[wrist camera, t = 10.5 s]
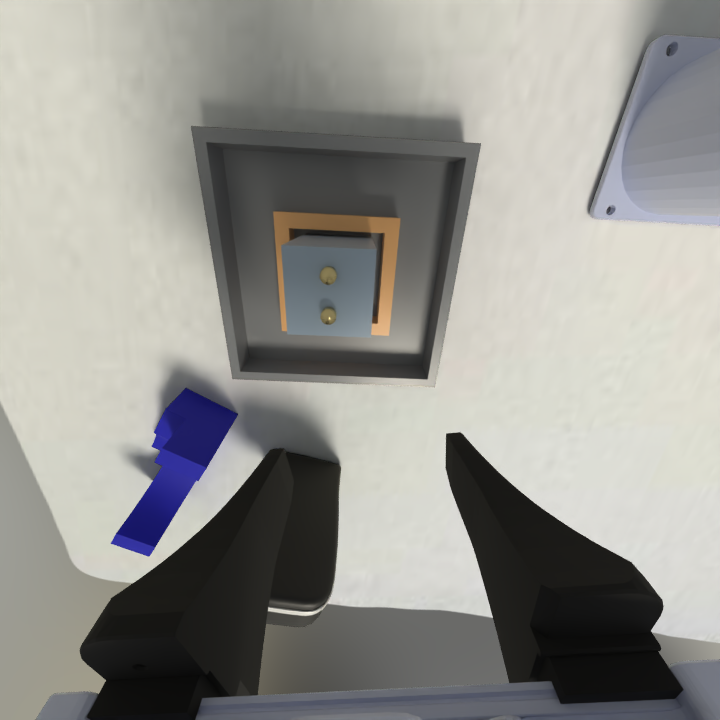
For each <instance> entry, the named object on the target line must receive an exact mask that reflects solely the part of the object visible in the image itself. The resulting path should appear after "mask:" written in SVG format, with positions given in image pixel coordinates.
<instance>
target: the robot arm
mask: <svg viewBox="0 0 720 720" xmlns="http://www.w3.org/2000/svg"><path fill="white" fill-rule="evenodd" d="M668 46H670V49H671V51H670V54H669V56H667V54H666V50H667V47H668ZM609 206H610V207H611V210H610V212H609V213H608V214H607V213H606V210H607V208H608V207H609ZM590 216H591V217H592V218H594V219H605V220H623V221H641V222H659V223H678V224H696V225H714V226H720V38H707V37H692V36H678V35H662V36H660V37H659V38H657V39H655V40H654V41H652V42H651V43H650V45H649V46H648V48H647V50H646V52H645V55H644V58H643V61H642V64H641V66H640V69H639V72H638V75H637V78H636V81H635V83H634V86H633V89H632V92H631V95H630V98H629V100H628V103H627V106H626V109H625V112H624V115H623V118H622V120H621V123H620V126H619V129H618V132H617V135H616V137H615V140H614V143H613V146H612V149H611V152H610V154H609V157H608V160H607V163H606V166H605V169H604V172H603V174H602V177H601V180H600V183H599V186H598V189H597V191H596V194H595V197H594V200H593V203H592V206H591V208H590ZM446 471H447V475H448V479H449V483H450V487H451V490H452V493H453V496H454V498H455V501H456V504H457V506H458V509H459V511H460V514H461V517H462V519H463V522H464V524H465V527H466V530H467V532H468V535H469V537H470V540H471V543H472V546H473V548H474V551H475V554H476V558H477V561H478V565H479V568H480V572H481V575H482V579H483V582H484V586H485V590H486V593H487V597H488V601H489V604H490V608H491V612H492V616H493V619H494V623H495V627H496V631H497V635H498V639H499V642H500V646H501V651H502V655H503V659H504V663H505V667H506V671H507V675H508V679H509V683H503V684H484V685H483V684H482V685H462V686H441V687H421V688H400V689H380V690H358V691H338V692H317V693H297V694H276V695H258V686H259V677H260V668H261V658H262V650H263V642H264V635H265V627H266V620H267V613H268V606H269V600H270V593H271V587H272V581H273V575H274V569H275V564H276V560H277V555H278V552H279V548H280V544H281V540H282V536H283V533H284V529H285V525H286V521H287V517H288V513H289V510H290V506H291V500H292V493H293V485H294V479H293V476H292V472H291V469H290V466H289V463H288V459H287V456H286V453H285V449H284V448H283V449H272V450H270V451H269V453H268V454H267V455H266V456H265V458H264V459H263V460H262V461H261V463H260V464H259V465H258V467H257V468H256V469H255V470H254V472H253V473H252V474H251V476H250V477H249V478H248V479H247V480H246V482H245V483H244V484H243V485H242V487H241V488H240V489H239V490H238V491H237V492H236V494H235V495H234V496H233V497H232V498H231V499H230V500H229V501H228V503H227V504H226V505H225V506H224V507H223V508H222V509H221V510H220V511H219V512H218V513H217V514H216V515H215V516H214V517H213V518H212V519H211V520H210V521H209V522H208V523H207V524H206V525H205V526H204V527H203V528H202V529H201V530H200V531H199V532H198V533H196V534H195V535H194V536H193V537H192V538H191V539H190V540H188V541H187V542H186V543H185V544H184V545H183V546H182V547H180V548H179V549H178V550H177V551H176V552H174V553H173V554H172V555H171V556H169V557H168V558H167V559H166V560H164V561H163V562H162V563H160V564H159V565H158V566H156V567H155V568H154V569H153V570H151V571H150V572H148V573H147V574H146V575H144V576H143V577H142V578H140V579H139V580H137V581H136V582H134V583H133V584H131V585H130V586H129V587H127V588H126V589H124V590H123V591H121V592H120V593H119V594H117V595H115V596H114V597H112V598H111V600H110V602H109V603H108V604H107V606H106V607H105V609H104V610H103V612H102V614H101V615H100V617H99V618H98V620H97V621H96V623H95V625H94V626H93V628H92V629H91V631H90V632H89V634H88V636H87V637H86V639H85V640H84V642H83V643H82V645H81V648H80V654H81V658H82V659H83V660H84V662H85V663H86V664H87V665H89V666H90V667H91V668H92V669H93V670H95V671H96V672H97V673H98V674H99V675H101V676H102V677H103V678H104V679H106V682H105V684H104V686H103V688H102V689H101V691H100V693H99V694H97V693H93V692H66V693H54V694H53V695H51V696H50V697H49V699H48V701H47V702H46V704H45V705H44V707H43V708H42V710H41V712H40V713H39V715H38V716H37V718H36V719H35V720H720V659H717V660H696V661H681V662H676V663H673V664H670V665H669V666H667V664H666V663H665V661H664V660H663V658H662V657H661V655H660V654H659V652H658V651H660V650H661V647H660V644H659V643H658V641H657V640H656V638H655V637H654V635H653V634H652V632H651V630H652V628H653V626H654V625H655V623H656V622H657V620H658V619H659V617H660V616H661V613H662V611H663V601H662V599H661V598H660V597H659V595H658V594H657V593H656V591H655V590H654V589H653V587H652V586H651V585H650V583H649V582H648V581H647V580H646V578H645V577H644V576H643V575H642V574H641V573H640V572H639V570H638V569H637V568H636V567H635V566H634V565H633V564H632V562H630V561H628V560H626V559H624V558H622V557H620V556H619V555H617V554H615V553H613V552H611V551H609V550H607V549H606V548H604V547H602V546H600V545H598V544H596V543H595V542H593V541H591V540H590V539H588V538H586V537H585V536H583V535H581V534H580V533H578V532H576V531H575V530H573V529H571V528H570V527H568V526H567V525H565V524H564V523H562V522H561V521H559V520H558V519H556V518H555V517H553V516H552V515H550V514H549V513H548V512H546V511H545V510H543V509H542V508H541V507H539V506H538V505H537V504H535V503H534V502H533V501H531V500H530V499H529V498H528V497H526V496H525V495H524V494H523V493H521V492H520V491H519V490H518V489H517V488H515V487H514V486H513V485H512V484H511V483H510V482H509V481H507V480H506V479H505V478H504V477H503V476H502V475H501V474H500V473H499V472H498V471H497V470H496V469H495V468H494V467H493V466H492V465H491V464H490V463H489V462H488V461H487V460H486V459H485V458H484V457H483V456H482V455H481V454H480V453H479V452H478V451H477V450H476V449H475V448H474V447H473V445H472V444H471V443H470V442H469V441H468V440H467V439H466V437H465V436H464V435H463V434H462V433H461V432H459V433H448V434H446Z"/></svg>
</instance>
